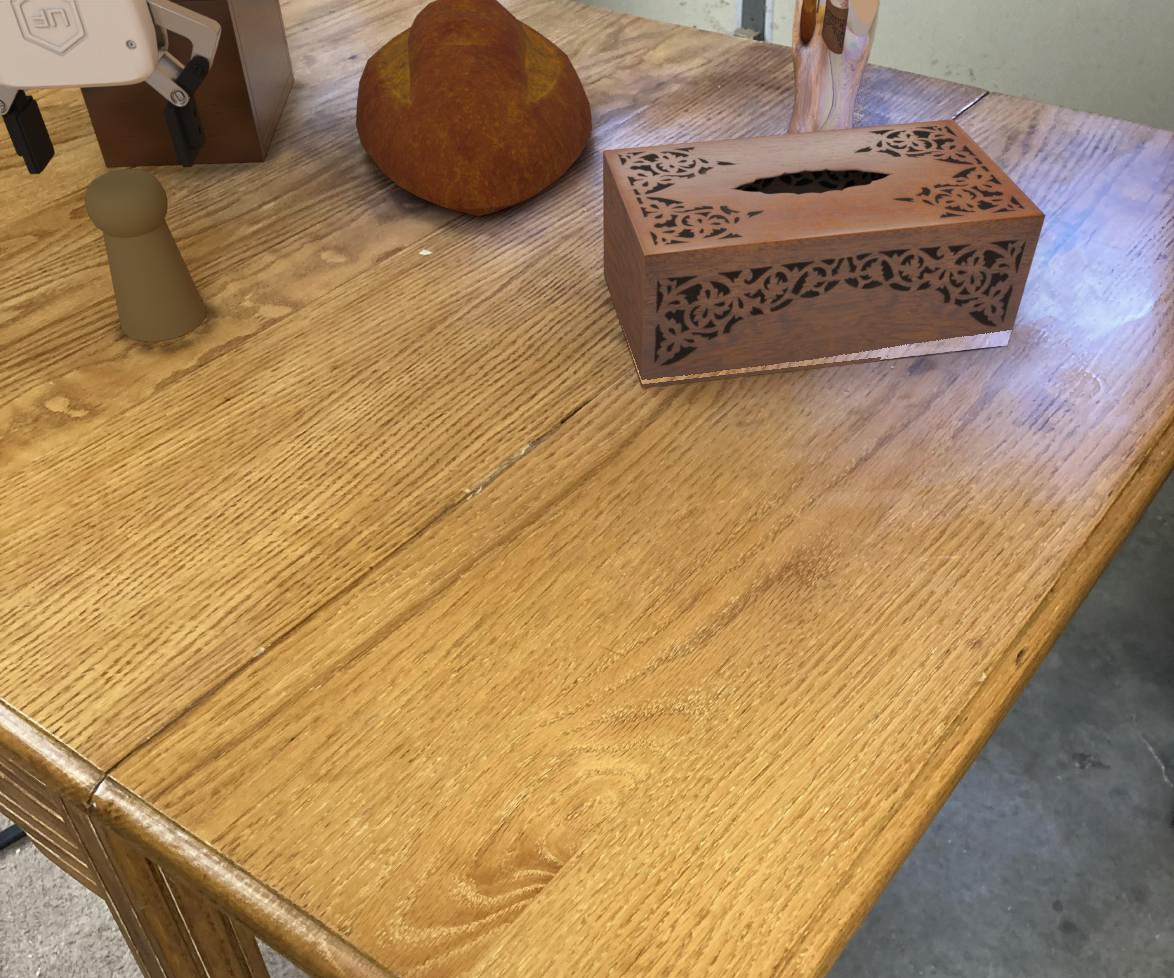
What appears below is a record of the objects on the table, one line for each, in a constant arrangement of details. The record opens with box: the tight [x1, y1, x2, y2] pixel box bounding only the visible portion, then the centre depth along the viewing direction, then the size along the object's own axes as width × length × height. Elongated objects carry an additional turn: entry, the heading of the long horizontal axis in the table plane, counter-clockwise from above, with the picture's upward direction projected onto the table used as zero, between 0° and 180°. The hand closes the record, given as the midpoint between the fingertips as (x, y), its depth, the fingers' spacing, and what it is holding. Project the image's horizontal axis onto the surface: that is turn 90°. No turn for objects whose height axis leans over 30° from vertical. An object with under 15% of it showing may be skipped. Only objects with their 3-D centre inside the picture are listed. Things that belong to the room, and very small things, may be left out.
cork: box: [84, 168, 207, 343], centre depth 78 cm, size 6×6×11 cm
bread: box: [355, 0, 593, 217], centre depth 98 cm, size 21×33×12 cm, turn 2°
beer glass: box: [785, 0, 881, 134], centre depth 96 cm, size 7×7×15 cm
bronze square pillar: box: [79, 0, 295, 168], centre depth 101 cm, size 14×18×16 cm
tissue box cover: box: [602, 118, 1046, 389], centre depth 78 cm, size 26×14×10 cm, turn 99°
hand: (117, 161), depth 73 cm, fingers open, 9 cm apart
